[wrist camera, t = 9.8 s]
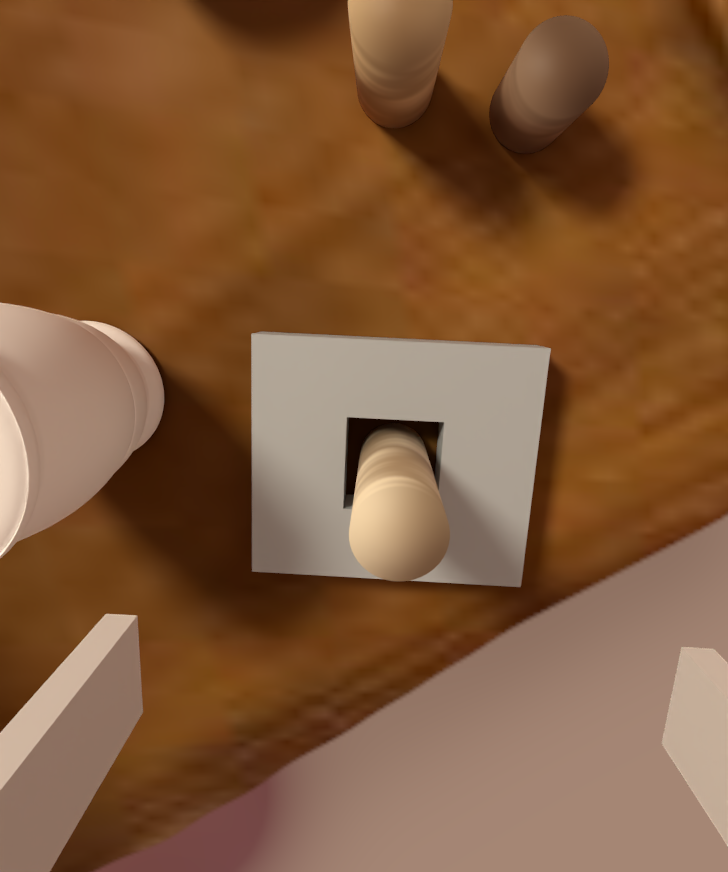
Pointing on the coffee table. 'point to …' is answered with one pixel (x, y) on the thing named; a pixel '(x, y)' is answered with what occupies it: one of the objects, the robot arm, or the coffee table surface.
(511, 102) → the walnut pin
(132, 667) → the robot arm
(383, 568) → the birch pin
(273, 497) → the hole plate
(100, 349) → the jar
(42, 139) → the coffee table surface
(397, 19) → the oak pin
